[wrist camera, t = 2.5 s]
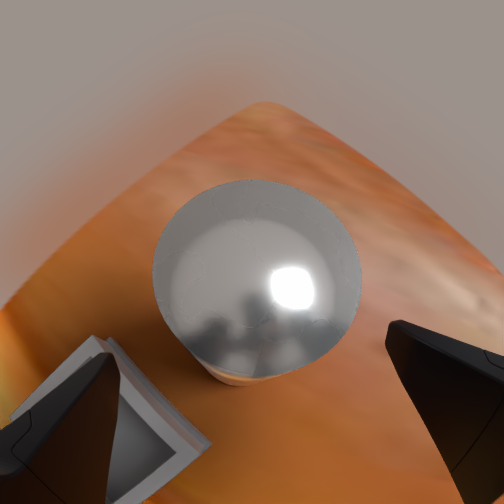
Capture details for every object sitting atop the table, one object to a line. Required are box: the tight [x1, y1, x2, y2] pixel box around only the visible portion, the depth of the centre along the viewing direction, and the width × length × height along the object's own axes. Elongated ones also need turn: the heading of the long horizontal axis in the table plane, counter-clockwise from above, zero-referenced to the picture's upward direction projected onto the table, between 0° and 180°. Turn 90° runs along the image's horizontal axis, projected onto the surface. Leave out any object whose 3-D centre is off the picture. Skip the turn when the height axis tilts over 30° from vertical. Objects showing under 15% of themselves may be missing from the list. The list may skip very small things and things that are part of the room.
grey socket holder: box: [9, 335, 212, 504], centre depth 10 cm, size 22×9×4 cm, turn 137°
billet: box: [152, 180, 362, 386], centre depth 12 cm, size 5×5×12 cm
